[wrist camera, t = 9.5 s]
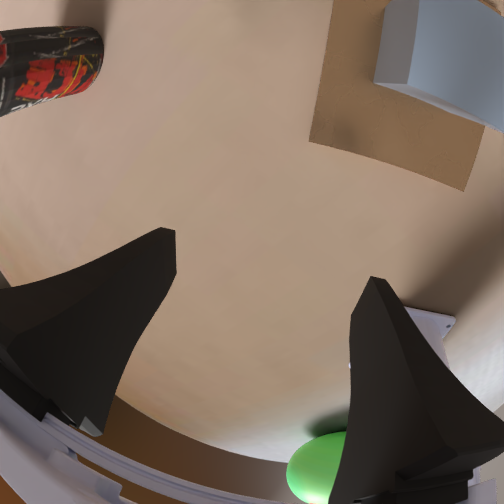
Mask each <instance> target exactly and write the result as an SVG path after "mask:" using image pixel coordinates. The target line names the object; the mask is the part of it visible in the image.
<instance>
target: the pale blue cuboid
mask: <svg viewBox="0 0 504 504" xmlns="http://www.w3.org/2000/svg"><path fill="white" fill-rule="evenodd" d="M373 83H375V84H378V85H381V86H384V87H387V88H390V89H393V90H396V91H399V92H402V93H404V94H407V95H410V96H412V97H415V98H417V99H420V100H422V101H425V102H427V103H429V104H432V105H434V106H436V107H439V108H441V109H443V110H445V111H447V112H450V113H452V114H455V115H458V116H461V117H464V118H467V119H469V120H472V121H475V122H477V123H480V124H482V125H485V126H487V127H490V128H492V129H494V130H497V131H499V132H501V133H503V134H504V17H502V16H501V15H499V14H498V13H497V12H495V11H494V10H492V9H491V8H489V7H487V6H486V5H484V4H483V3H481V2H480V1H478V0H391V2H390V3H389V4H388V5H387V6H386V7H385V13H384V20H383V28H382V34H381V41H380V47H379V53H378V59H377V64H376V70H375V75H374V80H373Z"/></svg>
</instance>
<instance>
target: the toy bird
mask: <svg viewBox="0 0 504 504" xmlns="http://www.w3.org/2000/svg"><path fill="white" fill-rule="evenodd" d="M345 436H346V431H344V432H336V433H331V434H327V435H323V436H320V437H318V438H315V439H313V440H311V441H309V442H307V443H306V444H304V445H303V446H301V447H300V448H299V449H298V450H297V451H296V452H295V453H294V454H293V456H292V457H291V459H290V461H289V463H288V466H287V473H286V475H287V481H288V485H289V487H290V489H291V490H292V492H293V493H294V494H295V495H296V496H297V497H298V498H300V499H301V500H302V501H304V502H306V503H309V504H328V499H329V496H330V493H331V490H332V487H333V484H334V481H335V478H336V474H337V471H338V468H339V464H340V459H341V455H342V451H343V447H344V441H345Z"/></svg>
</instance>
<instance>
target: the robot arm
mask: <svg viewBox="0 0 504 504" xmlns="http://www.w3.org/2000/svg"><path fill="white" fill-rule="evenodd" d="M176 274H177V271H176V241H175V230H171V229H167V228H163V227H160V228H157V229H155V230H153V231H151V232H149V233H147V234H145V235H143V236H141V237H139V238H137V239H135V240H133V241H131V242H129V243H128V244H126V245H124V246H122V247H120V248H118V249H116V250H114V251H112V252H110V253H108V254H106V255H104V256H102V257H100V258H98V259H96V260H94V261H91V262H89V263H87V264H85V265H82V266H80V267H77V268H75V269H72V270H70V271H67V272H65V273H62V274H59V275H56V276H52V277H49V278H46V279H43V280H40V281H37V282H33V283H29V284H25V285H20V286H16V287H11V288H5V289H0V475H1V476H2V477H3V478H4V480H5V481H6V482H7V483H8V484H9V485H10V486H11V487H12V489H13V490H14V491H15V492H16V493H17V494H18V495H19V496H20V497H21V498H22V499H23V500H24V501H25V502H26V503H27V504H137V503H135V502H132V501H130V500H128V499H125V498H123V497H121V496H119V493H120V491H121V489H122V486H121V484H119V483H117V482H115V481H113V480H111V479H109V478H107V477H105V476H103V475H101V474H99V473H98V472H96V471H94V470H92V469H90V468H89V467H87V466H85V465H83V464H82V463H80V462H79V461H78V460H77V455H76V453H78V454H80V455H81V456H83V457H85V458H86V459H88V460H90V461H92V462H93V463H95V464H97V465H99V466H101V467H103V468H105V469H106V470H109V471H110V472H113V473H114V474H116V475H118V476H121V477H123V478H125V479H127V480H129V481H131V482H134V483H136V484H138V485H141V486H143V487H145V488H148V489H150V490H153V491H155V492H158V493H161V494H163V495H166V496H169V497H171V498H174V499H177V500H180V501H183V502H187V503H190V504H295V503H286V502H278V501H271V500H264V499H258V498H252V497H248V496H243V495H238V494H233V493H228V492H225V491H220V490H216V489H213V488H209V487H205V486H202V485H198V484H195V483H192V482H189V481H185V480H183V479H180V478H177V477H174V476H171V475H168V474H165V473H163V472H160V471H157V470H155V469H152V468H150V467H147V466H145V465H143V464H140V463H138V462H135V461H133V460H131V459H129V458H127V457H125V456H122V455H120V454H118V453H116V452H114V451H112V450H110V449H108V448H106V447H104V446H102V445H100V444H99V443H96V442H95V441H93V440H91V439H90V438H88V437H86V436H84V435H83V434H81V433H79V432H77V431H76V430H74V429H72V428H71V427H69V424H70V425H72V426H73V427H75V428H77V429H78V428H80V429H81V430H83V431H85V432H87V433H88V434H90V435H92V436H94V437H97V436H100V435H102V434H103V432H104V428H105V424H106V421H107V417H108V413H109V410H110V406H111V404H112V401H113V398H114V395H115V392H116V389H117V386H118V384H119V381H120V379H121V376H122V374H123V371H124V369H125V366H126V364H127V362H128V360H129V358H130V355H131V353H132V351H133V349H134V347H135V345H136V343H137V341H138V339H139V338H140V336H141V335H142V333H143V331H144V330H145V328H146V327H147V325H148V323H149V322H150V320H151V319H152V317H153V316H154V314H155V312H156V311H157V309H158V308H159V306H160V304H161V303H162V301H163V300H164V298H165V297H166V295H167V293H168V291H169V289H170V287H171V285H172V282H173V280H174V278H175V276H176ZM455 322H456V320H455V317H453V316H448V315H443V314H438V313H433V312H428V311H424V310H419V309H414V308H409V307H404V306H403V304H402V303H401V301H400V300H399V298H398V297H397V295H396V294H395V292H394V291H393V289H392V288H391V286H390V285H389V283H388V282H387V281H386V280H385V279H381V278H377V277H373V276H370V278H369V280H368V283H367V285H366V287H365V289H364V291H363V293H362V295H361V297H360V299H359V301H358V303H357V305H356V307H355V309H354V311H353V312H352V314H351V322H350V336H349V346H350V362H349V368H350V374H351V399H350V409H349V417H348V424H347V430H346V436H345V441H344V447H343V451H342V455H341V459H340V464H339V468H338V471H337V474H336V478H335V481H334V484H333V487H332V490H331V493H330V496H329V499H328V504H496V503H497V501H496V500H497V495H496V479H495V478H493V479H491V480H487V481H484V482H481V483H480V470H481V465H483V464H484V463H486V462H488V461H490V460H492V459H493V458H495V457H497V456H499V455H500V454H501V453H503V452H504V422H503V421H502V420H501V419H500V418H499V417H497V416H496V415H495V414H494V413H493V412H491V411H490V410H489V409H488V408H486V407H485V406H484V405H483V404H482V403H481V402H480V401H479V400H478V399H477V398H476V397H474V396H473V395H472V394H471V393H470V392H469V391H468V390H467V389H466V388H465V387H464V385H463V384H462V383H461V382H460V381H459V380H458V379H457V378H456V377H455V376H454V374H453V373H452V372H451V371H450V368H449V364H448V360H447V356H446V352H445V348H444V344H443V341H442V339H443V338H444V336H445V335H446V334H447V333H448V331H449V330H450V329H451V328H452V326H453V325H454V324H455ZM74 451H75V452H76V453H75V452H74Z"/></svg>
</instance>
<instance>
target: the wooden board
mask: <svg viewBox="0 0 504 504" xmlns="http://www.w3.org/2000/svg"><path fill="white" fill-rule="evenodd" d="M478 1H480V2H481V3H483V4H484V5H486V6H487V7H489V8H491V9H492V10H494V11H495V12H497V13H498V14H499V15H501V12H500V11H499V10H497V9H496V8H494V7H493V6H491V5H490V4H488V3H487V2H485V1H484V0H478ZM390 2H391V0H334V3H333V10H332V16H331V23H330V29H329V35H328V41H327V47H326V52H325V58H324V64H323V69H322V75H321V80H320V86H319V91H318V96H317V101H316V107H315V112H314V117H313V122H312V127H311V132H310V137H309V142H313V143H317V144H321V145H325V146H329V147H333V148H337V149H341V150H345V151H349V152H352V153H356V154H359V155H363V156H366V157H369V158H373V159H376V160H379V161H382V162H386V163H389V164H392V165H395V166H398V167H401V168H404V169H406V170H409V171H412V172H415V173H418V174H420V175H423V176H426V177H428V178H431V179H434V180H436V181H439V182H441V183H444V184H446V185H449V186H451V187H454V188H456V189H458V190H461V191H463V192H464V189H465V187H466V184H467V181H468V179H469V176H470V173H471V170H472V167H473V164H474V161H475V158H476V155H477V152H478V149H479V146H480V142H481V139H482V135H483V132H484V128H485V125H482V124H480V123H477V122H475V121H472V120H469V119H467V118H464V117H461V116H458V115H455V114H452V113H450V112H447V111H445V110H443V109H441V108H439V107H436V106H434V105H432V104H429V103H427V102H425V101H422V100H420V99H417V98H415V97H412V96H410V95H407V94H404V93H402V92H399V91H396V90H393V89H390V88H387V87H384V86H381V85H378V84H375V83H373V80H374V75H375V70H376V64H377V59H378V53H379V47H380V41H381V34H382V28H383V20H384V13H385V7H386V6H387V5H388V4H389V3H390Z"/></svg>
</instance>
